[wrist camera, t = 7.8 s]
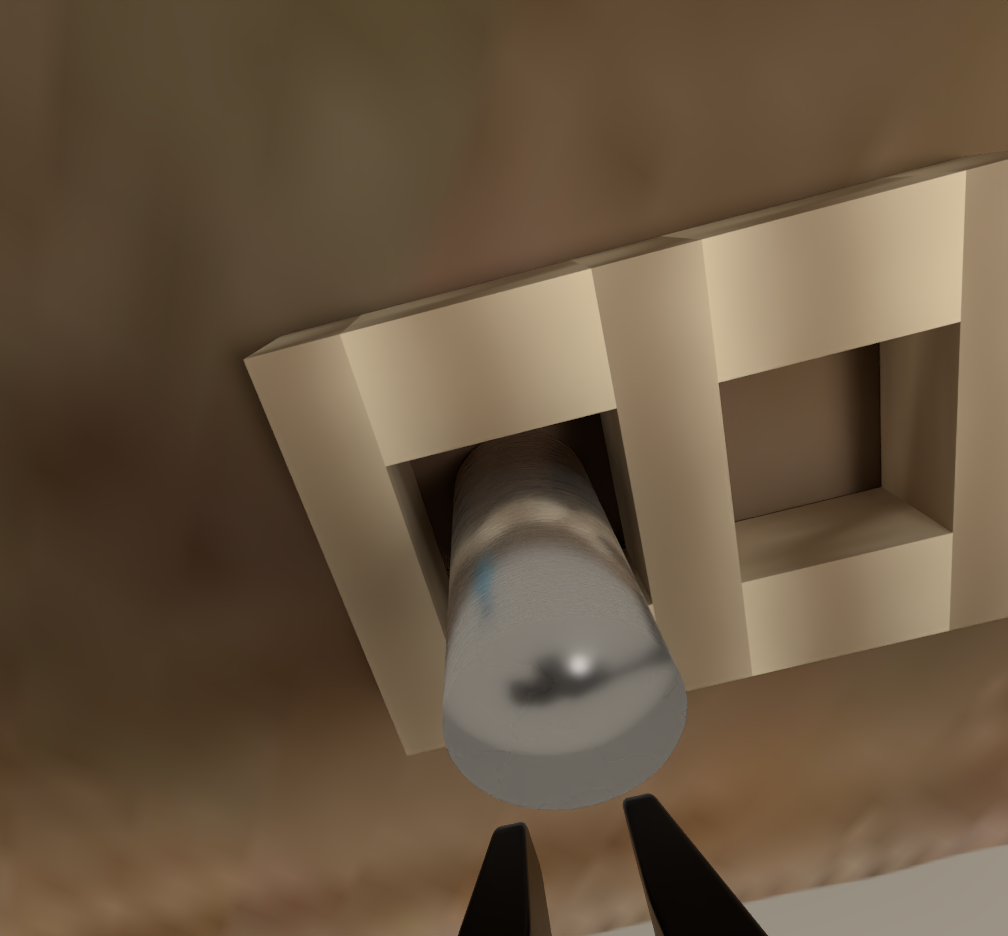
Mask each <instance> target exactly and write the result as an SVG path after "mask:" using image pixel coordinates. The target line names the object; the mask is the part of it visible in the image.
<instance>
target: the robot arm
mask: <svg viewBox="0 0 1008 936" xmlns="http://www.w3.org/2000/svg"><path fill="white" fill-rule="evenodd" d="M623 809H624V813H625V817H626V822H627V826H628V830H629V834H630V838H631V842H632V846H633V850H634V854H635V858H636V862H637V866H638V870H639V874H640V878H641V881H642V885H643V889H644V893H645V897H646V901H647V905H648V908H649V912H650V916H651V920H652V924H653V928H654V932H655V936H768V935H767V934H766V933H765V931H764V930H763V929H762V928H761V927H760V925H759V924H758V923H757V922H756V920H755V919H754V918H753V917H752V915H751V914H750V913H749V912H748V910H747V909H746V908H745V907H744V906H743V904H742V903H741V902H740V901H739V899H738V898H737V897H736V896H735V894H734V893H733V892H732V891H731V890H730V888H729V887H728V886H727V885H726V883H725V882H724V881H723V880H722V878H721V877H720V876H719V875H718V873H717V872H716V871H715V870H714V869H713V867H712V866H711V865H710V864H709V862H708V861H707V860H706V859H705V857H704V856H703V855H702V854H701V853H700V851H699V850H698V849H697V848H696V846H695V845H694V844H693V843H692V841H691V840H690V839H689V838H688V836H687V835H686V834H685V833H684V832H683V830H682V829H681V828H680V827H679V825H678V824H677V823H676V822H675V820H674V819H673V818H672V817H671V816H670V814H669V813H668V812H667V811H666V809H665V808H664V807H663V806H662V804H661V803H660V802H659V801H658V800H657V798H656V797H654V796H653V795H652V794H643V795H639V796H634V797H630V798H626V799H625V800H624V801H623ZM458 936H552V935H551V929H550V922H549V916H548V909H547V903H546V896H545V890H544V883H543V878H542V872H541V868H540V864H539V861H538V858H537V855H536V852H535V849H534V846H533V843H532V840H531V837H530V833H529V830H528V828H527V826H526V825H525V823H523V822H519V823H514V824H510V825H505V826H501V827H498V828H497V829H496V830H495V831H494V833H493V835H492V838H491V841H490V844H489V847H488V849H487V852H486V855H485V858H484V861H483V864H482V867H481V870H480V873H479V876H478V879H477V881H476V884H475V887H474V890H473V893H472V896H471V899H470V902H469V905H468V908H467V910H466V913H465V916H464V919H463V922H462V925H461V928H460V931H459V934H458Z"/></svg>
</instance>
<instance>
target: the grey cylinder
mask: <svg viewBox="0 0 1008 936" xmlns="http://www.w3.org/2000/svg"><path fill="white" fill-rule="evenodd" d="M686 715H687V696H686V690H685V686H684V682H683V680H682V677H681V675H680V673H679V671H678V668H677V666H676V664H675V662H674V660H673V658H672V656H671V653H670V651H669V649H668V647H667V645H666V643H665V641H664V639H663V636H662V634H661V632H660V630H659V628H658V626H657V624H656V621H655V619H654V617H653V615H652V613H651V611H650V609H649V606H648V604H647V602H646V600H645V598H644V596H643V594H642V591H641V589H640V587H639V585H638V583H637V581H636V579H635V576H634V574H633V572H632V570H631V568H630V566H629V564H628V561H627V559H626V557H625V555H624V553H623V551H622V549H621V547H620V544H619V542H618V540H617V538H616V536H615V534H614V532H613V529H612V527H611V525H610V523H609V521H608V519H607V517H606V514H605V512H604V510H603V508H602V506H601V504H600V502H599V499H598V497H597V495H596V493H595V491H594V489H593V487H592V484H591V482H590V480H589V478H588V476H587V474H586V472H585V469H584V467H583V465H582V463H581V461H580V460H579V458H578V457H577V455H576V454H575V453H574V452H573V451H572V449H571V448H569V447H568V446H567V445H566V444H565V443H563V442H562V441H560V440H559V439H557V438H555V437H553V436H551V435H548V434H545V433H542V432H538V431H533V430H528V431H525V432H521V433H517V434H513V435H509V436H505V437H501V438H497V439H493V440H489V441H485V442H482V443H481V444H479V445H478V446H477V447H476V448H475V449H473V451H472V452H471V453H470V454H469V455H468V456H467V457H466V459H465V460H464V462H463V463H462V465H461V467H460V469H459V471H458V474H457V477H456V481H455V485H454V502H453V521H452V540H451V559H450V579H449V598H448V617H447V636H446V655H445V675H444V694H443V713H442V729H443V737H444V741H445V744H446V748H447V750H448V752H449V755H450V757H451V759H452V760H453V762H454V763H455V765H456V766H457V768H458V769H459V771H460V772H461V773H462V774H463V775H464V776H465V777H466V778H467V779H468V780H469V781H470V782H472V783H473V784H474V785H475V786H476V787H478V788H479V789H481V790H482V791H484V792H486V793H487V794H489V795H491V796H493V797H495V798H497V799H500V800H502V801H505V802H508V803H511V804H514V805H517V806H522V807H527V808H533V809H542V810H565V809H575V808H581V807H587V806H591V805H595V804H598V803H602V802H605V801H607V800H610V799H613V798H615V797H618V796H620V795H622V794H624V793H626V792H628V791H630V790H631V789H633V788H635V787H636V786H638V785H639V784H641V783H642V782H644V781H645V780H646V779H648V778H649V777H650V776H651V775H653V774H654V773H655V772H656V771H657V770H658V769H659V768H660V767H661V766H662V765H663V764H664V762H665V761H666V760H667V759H668V757H669V756H670V755H671V754H672V752H673V750H674V748H675V747H676V745H677V743H678V742H679V739H680V737H681V734H682V732H683V729H684V725H685V721H686Z"/></svg>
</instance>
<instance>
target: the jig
mask: <svg viewBox="0 0 1008 936" xmlns="http://www.w3.org/2000/svg"><path fill="white" fill-rule="evenodd" d="M878 342H880V398H881V476H882V487H879V488H875V489H871V490H867V491H863V492H859V493H855V494H850V495H846V496H842V497H838V498H834V499H830V500H826V501H821V502H817V503H813V504H809V505H805V506H801V507H797V508H792V509H788V510H784V511H780V512H776V513H772V514H768V515H764V516H759V517H755V518H751V519H747V520H743V521H739V522H734V513H733V505H732V496H731V487H730V479H729V470H728V462H727V453H726V444H725V436H724V427H723V419H722V410H721V401H720V393H719V384H718V383H719V382H723V381H727V380H731V379H735V378H739V377H743V376H747V375H751V374H755V373H759V372H763V371H767V370H771V369H775V368H779V367H783V366H787V365H791V364H795V363H799V362H803V361H807V360H811V359H815V358H819V357H823V356H827V355H830V354H834V353H838V352H842V351H846V350H850V349H854V348H858V347H862V346H866V345H870V344H874V343H878ZM243 360H244V362H245V365H246V367H247V370H248V372H249V375H250V377H251V379H252V382H253V384H254V387H255V389H256V392H257V394H258V396H259V399H260V401H261V404H262V406H263V408H264V411H265V413H266V416H267V418H268V421H269V423H270V425H271V428H272V430H273V433H274V435H275V438H276V440H277V442H278V445H279V447H280V450H281V452H282V455H283V457H284V459H285V462H286V464H287V467H288V469H289V471H290V474H291V476H292V479H293V481H294V484H295V486H296V488H297V491H298V493H299V496H300V498H301V501H302V503H303V505H304V508H305V510H306V513H307V515H308V518H309V520H310V522H311V525H312V527H313V530H314V532H315V534H316V537H317V539H318V542H319V544H320V547H321V549H322V551H323V554H324V556H325V559H326V561H327V564H328V566H329V568H330V571H331V573H332V576H333V578H334V581H335V583H336V585H337V588H338V590H339V593H340V595H341V597H342V600H343V602H344V605H345V607H346V610H347V612H348V614H349V617H350V619H351V622H352V624H353V627H354V629H355V631H356V634H357V636H358V639H359V641H360V643H361V646H362V648H363V651H364V653H365V656H366V658H367V660H368V663H369V665H370V668H371V670H372V673H373V675H374V677H375V680H376V682H377V685H378V687H379V690H380V692H381V694H382V697H383V699H384V702H385V704H386V706H387V709H388V711H389V714H390V716H391V719H392V721H393V723H394V726H395V728H396V731H397V733H398V736H399V738H400V740H401V743H402V745H403V748H404V750H405V753H406V755H407V756H409V755H413V754H418V753H422V752H426V751H431V750H435V749H439V748H444V747H446V744H445V741H444V737H443V729H442V713H443V694H444V675H445V655H446V636H447V617H448V598H449V578H448V575H447V572H446V569H445V566H444V563H443V560H442V557H441V554H440V551H439V548H438V545H437V542H436V539H435V535H434V532H433V529H432V526H431V523H430V520H429V517H428V514H427V511H426V508H425V505H424V502H423V499H422V496H421V493H420V490H419V487H418V484H417V481H416V478H415V475H414V472H413V469H412V466H411V463H410V460H413V459H417V458H421V457H425V456H429V455H433V454H437V453H441V452H445V451H449V450H453V449H457V448H461V447H465V446H469V445H473V444H477V443H481V442H485V441H489V440H493V439H497V438H501V437H505V436H509V435H513V434H517V433H521V432H525V431H528V430H532V429H536V428H540V427H544V426H548V425H552V424H556V423H560V422H564V421H568V420H572V419H576V418H580V417H584V416H588V415H592V414H596V413H600V417H601V422H602V427H603V432H604V437H605V443H606V448H607V453H608V458H609V463H610V468H611V473H612V478H613V483H614V489H615V494H616V499H617V504H618V509H619V514H620V519H621V524H622V529H623V535H624V540H625V545H626V549H623V550H622V551H623V553H624V555H625V557H626V559H627V561H628V564H629V566H630V568H631V570H632V572H633V574H634V576H635V579H636V581H637V583H638V585H639V587H640V589H641V591H642V594H643V596H644V598H645V600H646V602H647V604H648V606H649V609H650V611H651V613H652V615H653V617H654V619H655V621H656V624H657V626H658V628H659V630H660V632H661V634H662V636H663V639H664V641H665V643H666V645H667V647H668V649H669V651H670V653H671V656H672V658H673V660H674V662H675V664H676V666H677V668H678V671H679V673H680V675H681V677H682V680H683V682H684V686H685V690H686V691H690V690H695V689H699V688H703V687H708V686H712V685H716V684H721V683H725V682H729V681H734V680H738V679H742V678H747V677H751V676H755V675H760V674H764V673H768V672H772V671H777V670H781V669H785V668H790V667H794V666H798V665H803V664H807V663H811V662H816V661H820V660H824V659H829V658H833V657H837V656H842V655H846V654H850V653H855V652H859V651H863V650H868V649H872V648H876V647H881V646H885V645H889V644H894V643H898V642H902V641H907V640H911V639H915V638H920V637H924V636H928V635H933V634H937V633H941V632H946V631H950V630H954V629H959V628H963V627H967V626H972V625H976V624H980V623H985V622H989V621H993V620H997V619H1002V618H1006V617H1008V151H1002V152H995V153H987V154H979V155H972V156H964V157H960V158H957V159H953V160H949V161H945V162H941V163H938V164H934V165H930V166H926V167H922V168H919V169H915V170H911V171H907V172H903V173H899V174H896V175H892V176H888V177H884V178H880V179H877V180H873V181H869V182H865V183H861V184H858V185H854V186H850V187H846V188H842V189H839V190H835V191H831V192H827V193H823V194H820V195H816V196H812V197H808V198H804V199H801V200H797V201H793V202H789V203H785V204H781V205H778V206H774V207H770V208H766V209H762V210H759V211H755V212H751V213H747V214H743V215H740V216H736V217H732V218H728V219H724V220H721V221H717V222H713V223H709V224H705V225H702V226H698V227H694V228H690V229H686V230H682V231H679V232H675V233H671V234H667V235H663V236H660V237H656V238H652V239H648V240H644V241H641V242H637V243H633V244H629V245H625V246H622V247H618V248H614V249H610V250H606V251H603V252H599V253H595V254H591V255H587V256H584V257H580V258H576V259H572V260H568V261H564V262H561V263H557V264H553V265H549V266H545V267H542V268H538V269H534V270H530V271H526V272H523V273H519V274H515V275H511V276H507V277H504V278H500V279H496V280H492V281H488V282H485V283H481V284H477V285H473V286H469V287H465V288H462V289H458V290H454V291H450V292H446V293H443V294H439V295H435V296H431V297H427V298H424V299H420V300H416V301H412V302H408V303H405V304H401V305H397V306H393V307H389V308H386V309H382V310H378V311H374V312H370V313H367V314H363V315H359V316H355V317H351V318H347V319H344V320H340V321H336V322H332V323H328V324H325V325H321V326H317V327H313V328H309V329H306V330H302V331H298V332H294V333H290V334H287V335H283V336H281V337H279V338H277V339H276V340H274V341H272V342H271V343H269V344H268V345H266V346H264V347H263V348H261V349H259V350H258V351H256V352H255V353H253V354H251V355H250V356H248V357H246V358H245V359H243Z"/></svg>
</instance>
